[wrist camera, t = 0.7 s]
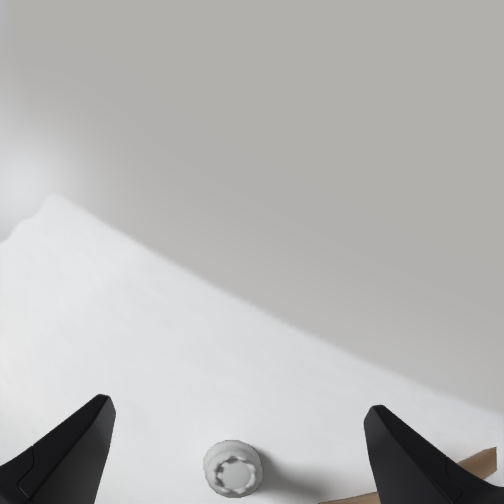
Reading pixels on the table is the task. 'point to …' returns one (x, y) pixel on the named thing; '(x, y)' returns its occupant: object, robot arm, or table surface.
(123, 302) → the table surface
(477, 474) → the notched board
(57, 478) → the robot arm
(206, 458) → the rook chess piece
